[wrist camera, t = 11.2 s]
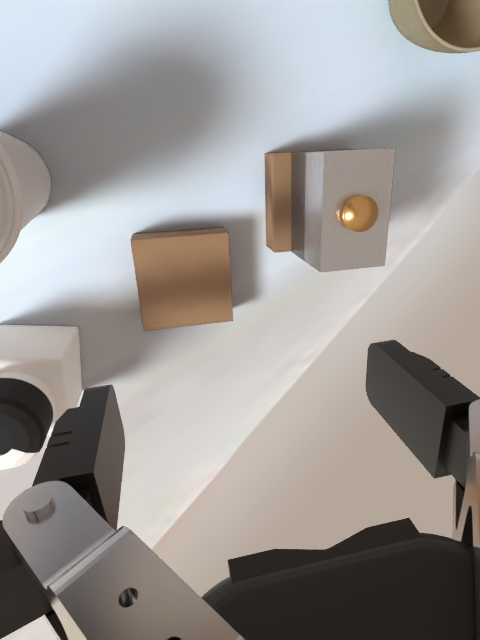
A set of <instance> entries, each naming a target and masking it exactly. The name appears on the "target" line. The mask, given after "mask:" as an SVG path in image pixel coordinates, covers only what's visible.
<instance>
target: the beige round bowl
mask: <svg viewBox="0 0 480 640" xmlns="http://www.w3.org/2000/svg"><path fill="white" fill-rule="evenodd" d="M389 10H390V14H391V18H392V20H393V23H394V25H395V26H396V28H397V29H398V30H399V32H400V33H401V34H402V35H403V36H404V37H405V38H406V39H408V40H409V41H411V42H412V43H414V44H416V45H418V46H420V47H422V48H425V49H428V50H432V51H436V52H443V53H467V52H474V51H479V50H480V0H389Z"/></svg>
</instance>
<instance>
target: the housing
mask: <svg viewBox="0 0 480 640" xmlns="http://www.w3.org/2000/svg"><path fill="white" fill-rule="evenodd" d="M395 149H396V148H386V149H359V150H338V151H319V152H301V153H291V252H293V253H294V254H295V255H297V256H298V257H300V258H301V259H302V260H304V261H305V262H307V263H308V264H309V265H311V266H312V267H314V268H315V269H316V270H318V271H319V272H328V271H338V270H348V269H358V268H368V267H377V266H385V258H386V247H387V236H388V225H389V214H390V203H391V193H392V182H393V171H394V160H395Z"/></svg>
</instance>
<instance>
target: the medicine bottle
mask: <svg viewBox="0 0 480 640" xmlns="http://www.w3.org/2000/svg"><path fill="white" fill-rule="evenodd" d="M81 392H82V379H81V359H80V339H79V329H78V327H76V326H33V325H0V470H2V469H9V468H14V467H18V466H20V465H23V464H25V463H27V462H29V461H30V460H32V459H33V458H34V457H35V456H36V455H37V454H38V453H39V452H40V450H41V448H42V446H43V444H44V441H45V439H46V436H51V433H52V431H53V428H54V425H55V422H56V421H57V420H58V419H59V418H60V417H61V416H62V414H63V413H64V412H65V411H66V410H67V409H70V408H76V407H77V404H78V401H79V398H80V395H81Z"/></svg>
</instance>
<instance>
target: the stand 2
mask: <svg viewBox="0 0 480 640" xmlns="http://www.w3.org/2000/svg"><path fill="white" fill-rule="evenodd" d="M353 150H359V149H353ZM331 151H338V150H331ZM310 152H319V151H310ZM291 153H301V152H289V153H267V154H265V195H266V246H267V247H269V248H270V249H271V250H272V251H274V252H286V251H291Z"/></svg>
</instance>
